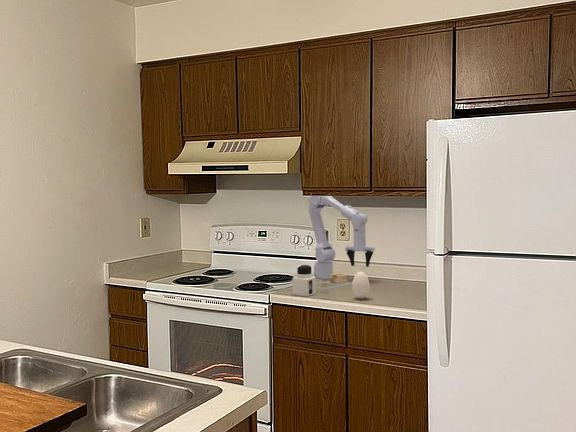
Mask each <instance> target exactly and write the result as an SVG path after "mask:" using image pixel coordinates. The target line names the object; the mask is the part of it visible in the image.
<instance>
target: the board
mask: <svg viewBox="0 0 576 432" xmlns="http://www.w3.org/2000/svg"><path fill="white" fill-rule="evenodd" d="M352 283H353V282H350V281H347V283H343V284H334V283H330V280H326V281H319V282H316V285H319V284H328V285H333V286H330V287H329V286H328V287H318V286H316V289H322V290H329V289H335V288H339V287H345V286H350V285H351V286H352Z"/></svg>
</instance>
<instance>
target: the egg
mask: <svg viewBox="0 0 576 432" xmlns="http://www.w3.org/2000/svg"><path fill="white" fill-rule="evenodd" d="M351 283H352V284H351V289H352V293H353V295H354V297H356V298H357V299H360V300H361V299H362V300H363V299H365V298H366V297H367V296H368V295H369V292H370V289H371V288H370V281H369V277H368V276H367V274H366V273H365V272H363V271H358V272H357V273H356V274H355V275H354V277H353V280H352V282H351Z"/></svg>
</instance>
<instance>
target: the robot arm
mask: <svg viewBox="0 0 576 432" xmlns="http://www.w3.org/2000/svg"><path fill="white" fill-rule="evenodd" d="M308 203H309V206H308V213H309V214H308V215H309V217H310V221H311V226H312V229H313V233H314V237H315V241H316V247H315V248H314V250H315V259H316V260H317V261H316V262H315V263H314V264H313V276H314V277H316V279H317V278H318V279H323V280H326V279H327V280H328V279H329V280H330V274H334V273H333V270H334V269H333V262H334V259H335V258H336V251H335V250H334V248H333V246H332V244H331V243H330V242H329V241H328V237H327V234H326V230H325V229H326V228H325V226H324V222H323V219H322V214H321V212H322V210H323V209H324V208H325V206H327V205H328V206H330V207H331V208H332V209H333V208H334V209H335V210H337V211H339V213H340V215H341V217H344V218H345V219H346V220H348V221H350V222H351V224H352V226H353V227H352V228H353V246H345V248H344V249H345V252H346V255H347V257H348V259H349V261H350V265H351V267H354V266H355V255H356V253H355V252H364V255H365V267H367V268H368V267H369V266H370V263H371V262H370V261H371V259H372V256H373V254H374V252H376V251H375V249H376V248H375V247H370V246H366V238H367V237H366V224H367V222H368V216H367V215H366V214H365V213H363V212H360V211H359V210H356V209H354V208H353V207H352V205H345V204H342V203H341V202H339V201H338V200H337V199H335V198H334V197H332V195H331V196H311V195H309V198H308Z"/></svg>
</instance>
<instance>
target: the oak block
mask: <svg viewBox="0 0 576 432" xmlns="http://www.w3.org/2000/svg"><path fill="white" fill-rule="evenodd" d="M329 281H330V283H334V284H343V283H347V282H348V274H345V273H340V272H337V273H333V274H330V278H329Z"/></svg>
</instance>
